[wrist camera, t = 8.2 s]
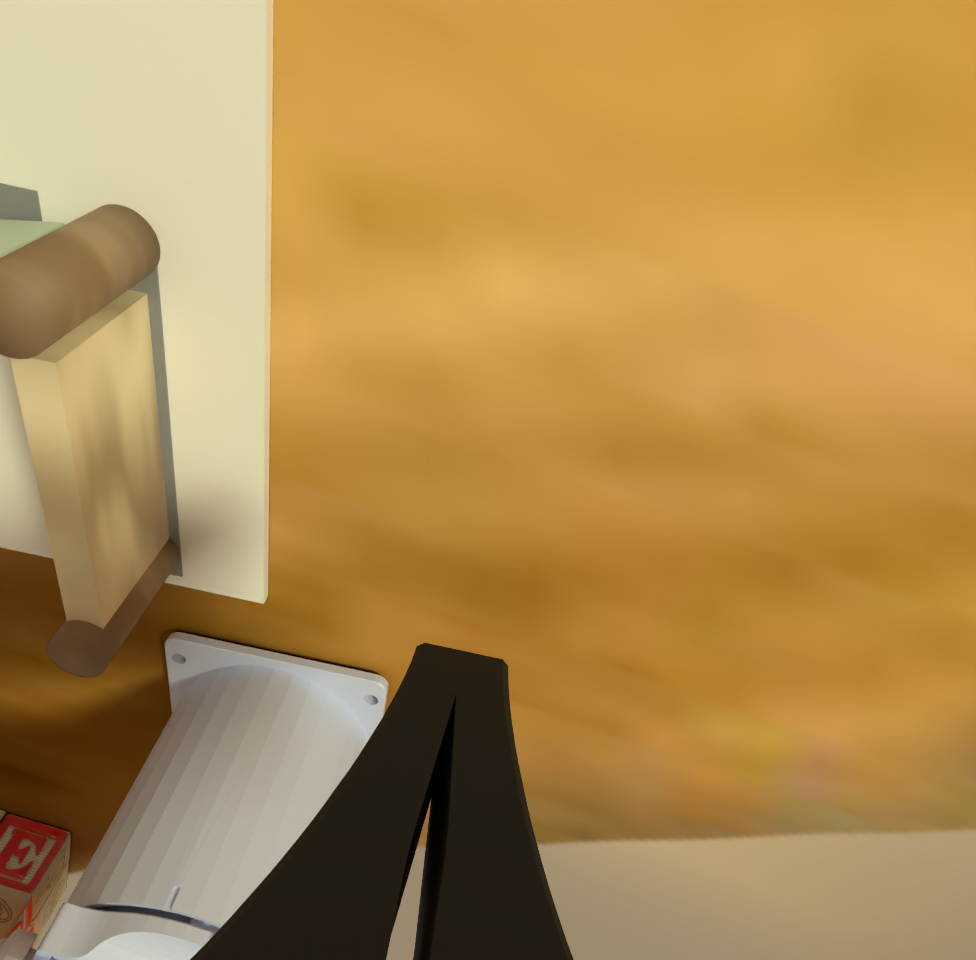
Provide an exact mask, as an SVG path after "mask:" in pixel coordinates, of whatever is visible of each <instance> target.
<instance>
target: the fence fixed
mask: <svg viewBox="0 0 976 960" xmlns="http://www.w3.org/2000/svg"><path fill="white" fill-rule="evenodd" d="M159 260H160V245H159V241H158V238H157V236H156V234H155V232H154V230H153V229H152V227H151V226H150V224H149V223H148V222H147V221H146V220H145V219H144V218H143V217H142V216H141V215H140V214H138V213H137V212H135V211H134V210H132V209H130V208H128V207H125V206H122V205H117V204H108V205H103V206H101V207H99V208H97V209H95V210H93V211H91V212H89V213H87V214H85V215H83V216H81V217H79V218H78V219H76V220H74V221H72V222H70V223H68V224H66V225H64V226H62V227H60V228H58V229H56V230H54V231H52V232H50V233H48V234H46V235H44V236H43V237H41V238H39V239H37V240H35V241H33V242H31V243H29V244H27V245H25V246H23V247H21V248H19V249H17V250H15V251H13V252H11V253H9V254H7V255H6V256H4V257H2V258H0V354H1V355H3V356H6V357H10V360H11V365H12V369H13V374H14V379H15V383H16V388H17V393H18V397H19V402H20V406H21V411H22V416H23V420H24V425H25V430H26V434H27V439H28V444H29V448H30V453H31V457H32V462H33V467H34V471H35V476H36V481H37V485H38V490H39V495H40V499H41V504H42V509H43V513H44V518H45V522H46V527H47V532H48V536H49V541H50V546H51V550H52V555H53V560H54V564H55V569H56V573H57V578H58V583H59V587H60V592H61V597H62V601H63V606H64V611H65V615H66V620H65V621H64V623H63V624H62V625H61V627H60V628H59V629H58V630H57V632H56V633H55V634H54V635H53V637H52V638H51V639H50V640H49V642H48V643H47V646H46V650H47V653H48V655H49V657H50V659H51V660H52V661H53V662H54V663H55V664H56V665H57V666H58V667H60V668H61V669H63V670H65V671H66V672H68V673H71V674H73V675H76V676H81V677H95V676H98V675H100V674H101V673H102V672H103V671H104V670H105V668H106V667H107V665H108V664H109V662H110V661H111V659H112V658H113V657H114V655H115V654H116V652H117V651H118V649H119V648H120V646H121V645H122V643H123V642H124V640H125V639H126V638H127V636H128V635H129V633H130V632H131V630H132V629H133V627H134V626H135V624H136V623H137V622H138V620H139V619H140V617H141V616H142V614H143V613H144V611H145V610H146V608H147V607H148V605H149V604H150V603H151V601H152V600H153V598H154V597H155V595H156V594H157V592H158V591H159V589H160V588H161V587H162V585H163V584H164V582H165V581H166V579H167V578H168V576H169V575H170V573H171V572H172V570H173V569H174V568H175V566H176V565H177V563H178V562H179V560H180V551H179V548H178V547H177V545H176V544H175V542H174V541H173V540H172V539H170V536H169V525H168V514H167V504H166V493H165V482H164V471H163V460H162V449H161V438H160V427H159V416H158V405H157V395H156V384H155V373H154V362H153V351H152V340H151V329H150V318H149V307H148V297H147V294H146V293H141V292H137V291H132V290H129V289H130V288H131V287H133V286H134V285H136V284H137V283H138V282H140V281H141V280H143V279H144V278H145V277H147V276H148V275H149V274H151V273H152V272H153V271H154V269H155V268H156V266H157V265H158V263H159Z"/></svg>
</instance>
